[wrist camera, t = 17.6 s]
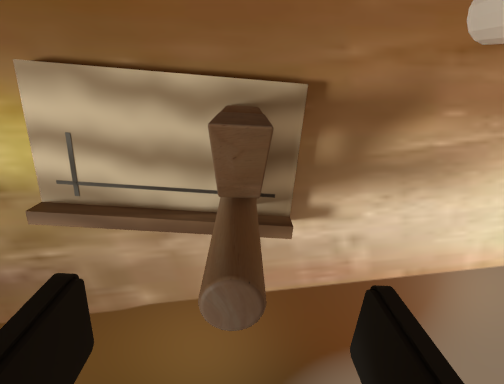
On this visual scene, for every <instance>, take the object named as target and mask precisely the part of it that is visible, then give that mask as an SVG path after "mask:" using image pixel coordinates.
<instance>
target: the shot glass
mask: <svg viewBox="0 0 504 384" xmlns="http://www.w3.org/2000/svg"><path fill="white" fill-rule="evenodd" d="M467 25H468V32H469V33H470V35H471V36H472V38H473V39H474V40H475V41H477V42H479V43H481V44H483V45H486V44H504V0H473V2H472V4H471V6H470V7H469V12H468V17H467Z"/></svg>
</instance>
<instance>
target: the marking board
mask: <svg viewBox="0 0 504 384" xmlns="http://www.w3.org/2000/svg"><path fill="white" fill-rule="evenodd" d="M13 62H14V67H15V72H16V77H17V82H18V87H19V92H20V97H21V102H22V106H23V111H24V116H25V121H26V126H27V131H28V136H29V141H30V146H31V151H32V156H33V161H34V165H35V170H36V175H37V180H38V185H39V190H40V195H41V200H42V202H41V203H39V204H37V205H36V206H34V207H32V208H30V209H29V210H27V211H26V216H27V220H28V224H35V225H52V226H70V227H88V228H106V229H123V230H141V231H159V232H177V233H195V234H213V229H214V225H215V220H216V215H217V211H218V206H219V202H220V197H219V196H218V192H217V185H216V179H215V172H214V165H213V158H212V152H211V145H210V138H209V131H208V123H209V122H210V121H211V120H212V119H213V118H214V117H215V116H216V115H217V114H218V113H219V112H220V111H221V110H222V109H223V108H224V107H225V106H227V105H232V106H252V107H258V108H260V110H261V111H262V113H263V114H265V116H266V117H267V118H268V120H269V121H270V123H271V124H272V126H273V128H274V130H273V135H272V140H271V145H270V150H269V155H268V160H267V165H266V170H265V175H264V180H263V185H262V190H261V195H260V198H258V199H257V214H258V224H259V234H260V237H266V238H284V239H291V238H292V231H293V225H292V222H291V219H290V211H291V204H292V197H293V189H294V182H295V175H296V168H297V161H298V154H299V146H300V139H301V132H302V125H303V118H304V111H305V103H306V96H307V89H308V84H299V83H287V82H275V81H264V80H252V79H240V78H228V77H217V76H205V75H193V74H181V73H169V72H158V71H146V70H134V69H122V68H111V67H99V66H87V65H75V64H63V63H52V62H40V61H28V60H16V59H13Z"/></svg>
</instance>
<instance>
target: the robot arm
mask: <svg viewBox="0 0 504 384" xmlns="http://www.w3.org/2000/svg"><path fill="white" fill-rule="evenodd" d="M93 344H94V338H93V332H92V327H91V321H90V315H89V309H88V303H87V297H86V291H85V285H84V281H83V279H79V276H78V275H77V274H66V273H56V274H54V275H53V276H52V277H51V278H50V279H49V280H48V281H47V282H46V283H45V284H44V285H43V286H42V287H41V288H40V289H39V290H38V291H37V292H36V293H35V294H34V295H33V296H32V297H31V298H30V299H29V300H28V301H27V302H26V303H25V304H24V305H23V306H22V308H21V309H20V310H19V311H18V312H17V313H16V314H15V315H14V316H13V317H12V318H11V319H10V320H9V321H8V322H7V323H6V324H5V325H4V326H3V327H2V328H1V329H0V384H74V382H75V381H76V379H77V377H78V375H79V373H80V372H81V370H82V368H83V366H84V364H85V363H86V361H87V359H88V357H89V355H90V354H91V351H92V349H93ZM350 353H351V358H352V360H353V363H354V365H355V368H356V370H357V373H358V375H359V377H360V380H361V383H362V384H464V383H463V382H462V380H461V379H460V378H459V376H458V375H457V373H456V372H455V371H454V370H453V368H452V367H451V365H450V364H449V363H448V361H447V360H446V359H445V357H444V356H443V355H442V353H441V352H440V351H439V349H438V348H437V347H436V345H435V344H434V343H433V341H432V340H431V338H430V337H429V336H428V335H427V333H426V332H425V330H424V329H423V328H422V327H421V325H420V324H419V323H418V321H417V320H416V318H415V317H414V316H413V314H412V313H411V312H410V310H409V309H408V308H407V306H406V305H405V304H404V302H403V301H402V300H401V298H400V297H399V295H398V294H397V293H396V291H395V290H394V289H393V288H392V287H391V286H376V285H375V286H372V287H371V289H370V290H367V291H366V293H365V297H364V300H363V304H362V307H361V311H360V314H359V318H358V321H357V325H356V329H355V332H354V336H353V339H352V343H351V347H350Z"/></svg>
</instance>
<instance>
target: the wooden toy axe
mask: <svg viewBox="0 0 504 384" xmlns="http://www.w3.org/2000/svg"><path fill="white" fill-rule="evenodd" d="M273 130H274V128H273V126H272V124H271V123H270V121H269V120H268V118H267V117H266V116H265V114H263V113H262V111H261V110H260V108H258V107H252V106H232V105H227V106H225V107H224V108H223V109H222V110H221V111H220V112H219V113H218V114H217V115H216V116H215V117H214V118H213V119H212V120H211V121H210V122H209V123H208V131H209V138H210V145H211V152H212V158H213V165H214V172H215V179H216V185H217V192H218V196H219V197H220V202H219V206H218V211H217V215H216V220H215V225H214V229H213V234H212V238H211V243H210V248H209V252H208V257H207V261H206V266H205V271H204V275H203V280H202V285H201V289H200V294H199V299H198V304H199V308H200V312H201V314H202V316H203V317H204V318H205V320H206V321H207V322H208V323H210V324H211V325H212V326H214V327H216V328H219V329H221V330H228V331H236V330H242V329H245V328H248V327H250V326H252V325H253V324H254V323H256V322H257V321H258V320H259V319H260V317H261V316H262V315H263V313H264V310H265V307H266V294H265V284H264V274H263V264H262V254H261V244H260V234H259V224H258V214H257V199H258V198H260V195H261V190H262V185H263V180H264V175H265V170H266V165H267V160H268V155H269V150H270V145H271V140H272V135H273Z"/></svg>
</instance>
